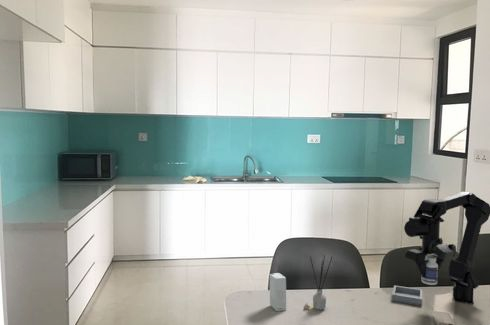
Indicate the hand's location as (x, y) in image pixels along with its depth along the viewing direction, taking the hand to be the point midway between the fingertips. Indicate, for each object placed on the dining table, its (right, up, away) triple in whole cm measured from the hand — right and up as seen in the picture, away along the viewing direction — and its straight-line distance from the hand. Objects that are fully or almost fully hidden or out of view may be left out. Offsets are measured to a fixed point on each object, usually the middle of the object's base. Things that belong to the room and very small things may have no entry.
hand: (429, 275), depth 146 cm
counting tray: (-4, -12, +9) cm, 15 cm away
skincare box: (-56, -12, -1) cm, 58 cm away
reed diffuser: (-42, -12, -2) cm, 43 cm away
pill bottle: (0, -3, 0) cm, 3 cm away
